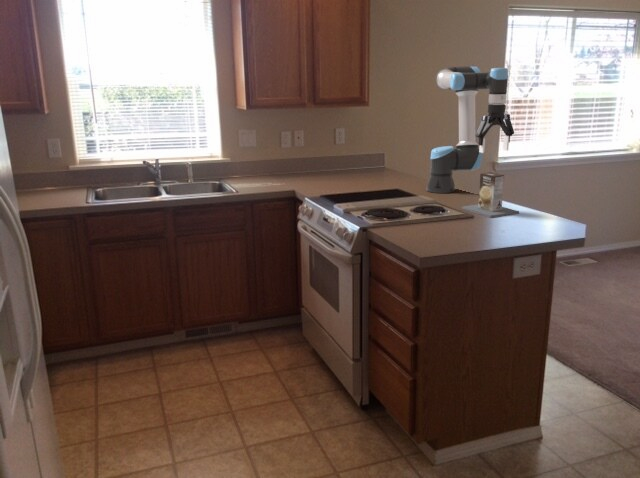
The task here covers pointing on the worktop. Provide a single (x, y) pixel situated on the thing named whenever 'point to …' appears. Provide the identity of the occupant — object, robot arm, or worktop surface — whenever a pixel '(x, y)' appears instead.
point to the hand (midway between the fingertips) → (493, 151)
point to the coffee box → (491, 191)
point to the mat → (490, 213)
